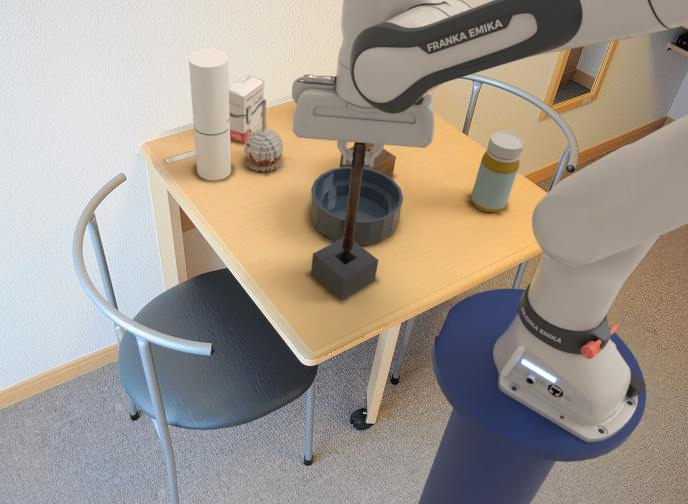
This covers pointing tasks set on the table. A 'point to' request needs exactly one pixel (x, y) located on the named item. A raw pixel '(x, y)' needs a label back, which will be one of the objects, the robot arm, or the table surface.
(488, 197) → the bottle
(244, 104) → the ink box
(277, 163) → the grey round-headed piece
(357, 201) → the stick
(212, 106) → the cylindrical container
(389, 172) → the holder
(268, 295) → the table surface
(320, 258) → the stand
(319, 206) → the bowl
